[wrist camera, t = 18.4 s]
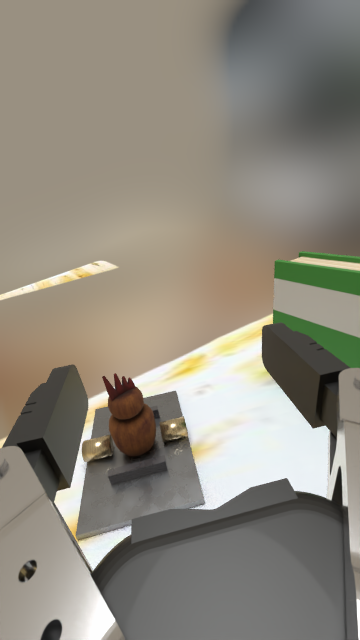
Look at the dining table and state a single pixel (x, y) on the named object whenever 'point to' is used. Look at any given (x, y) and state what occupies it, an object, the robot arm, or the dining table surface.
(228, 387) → the dining table surface
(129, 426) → the wooden figurine
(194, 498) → the metal mounting plate
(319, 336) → the hardback book
